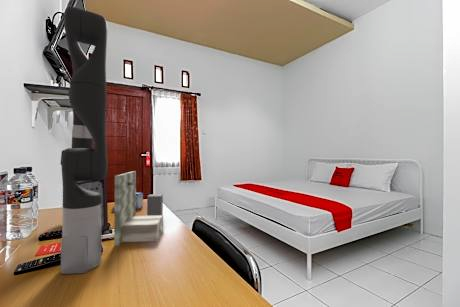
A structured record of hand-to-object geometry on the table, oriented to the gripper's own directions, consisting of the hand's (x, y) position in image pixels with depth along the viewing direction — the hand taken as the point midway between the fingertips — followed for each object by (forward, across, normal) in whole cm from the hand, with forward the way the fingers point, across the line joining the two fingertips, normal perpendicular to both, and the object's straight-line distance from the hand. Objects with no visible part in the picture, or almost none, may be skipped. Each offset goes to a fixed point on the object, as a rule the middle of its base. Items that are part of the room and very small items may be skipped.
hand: (81, 175), depth 93 cm
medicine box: (+24, +24, +24) cm, 41 cm away
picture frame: (+21, +1, -11) cm, 24 cm away
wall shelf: (+20, +22, -22) cm, 37 cm away
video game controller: (+24, +16, +16) cm, 33 cm away
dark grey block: (+21, +30, -6) cm, 37 cm away
